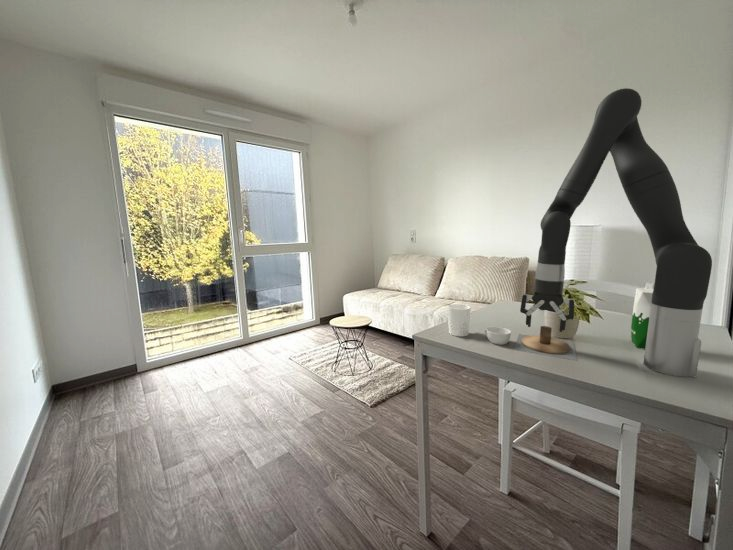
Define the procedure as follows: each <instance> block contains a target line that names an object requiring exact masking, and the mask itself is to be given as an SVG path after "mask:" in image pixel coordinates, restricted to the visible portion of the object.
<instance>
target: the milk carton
mask: <svg viewBox="0 0 733 550" xmlns="http://www.w3.org/2000/svg"><path fill="white" fill-rule="evenodd" d="M653 290H654V288H650V287H649V288H648V287H647V288H643V287H642V288H640V287H636V289H635V295H634V301H633V307H632V315H631V316H632V317H631V324H630V325H631V326H630V333H631V342H632V344H633V345H634V344H635V345H634V346H635V347H636V348H637V349H641V348H645V347H646V340H647V332H648V324H649V317H650V309H651V301H652V293H653Z"/></svg>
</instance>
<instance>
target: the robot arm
mask: <svg viewBox="0 0 733 550" xmlns="http://www.w3.org/2000/svg"><path fill="white" fill-rule="evenodd" d="M641 108H642V97H641V95H640V93H639V92H638V91H637V90H635V89H633V88H627V87H625V88H619V89H617V90H615V91H612V92H611V93H609V94H608V95H606V96H605V97H604V98H603V99H602V101H601V102H600V103H599V104H598V106H597V107H596V111H595V115H594V119H593V123H592V126H591V129H590V132H589V133H588V136H587V137H586V140H585V143H584V144H583V145H582V146H583V147H582V148H581V150H580V152H579V154H578V155H577V157H576V158H575V160H574V162H573V163H572V166H571V167H570V169H569V170H568V172H567V174H566V176H565V177H564V179H563V181H562V183H561V185H560V187H559V189H558V191H557V192H556V195H555V197H554V199H553V201H552V202H551V204H550V205H549V207H548V208H547V210H546V212H545V213H544V215H543V217H542V219H541V220H540V229H541V243H540V246H539V249H538V258H537V264H536V270H535V275H534V277H535V278H534V290H533V295H531V294H527V293H523V295H522V298H521V303H520V314H521V313H522V314H524V315H526V316H525V325H526V326H527V327H528V328H531V327H532V326H531V324H532V314H534V312H536V310H538V309H539V310H540V311H547V312H554V311H555V313H556V314H557V315H558V316H559V318H560V319H559V328H558V330H559V333H560V332H563V331H565V330H566V325H567V323H566V321H568V320H574V317H575V315H574V314H575V299H574V298H572V297H571V298H564V297H563V293H564V283H565V273H566V268H565V267H566V265H565V264H566V255H567V254H566V253H567V252H566V251H567V245H568V241H569V238H570V237H569V236H570V231H571V219H572V216H573V215H574V213H575V211H576V210H577V208H578V207H579V206H580V205H581V204H582V203H583V202H584V200H585V198H586V197H587V195H588V193H589V191H590V190H591V188H592V186H593V184H594V182H595V180H596V179H597V177H598V174H599V172H600V170H601V169H602V166H603V165H604V162H605V160H606V159H607V156H608V154H609V153H610V154H611V157H612V160H613V164H614V166H615V169H616V172H617V175H618V178H619V181H620V183H621V186H622V188H623V191H624V194H625V196H626V198H627V200H628V203H629V204H630V205H631V208H632V210H633V212H634V213H635V215H636V216H637V218H638V220H639V221H640V223H641V224H642V226H643V228H644V229H645V231H646V233H647V235H648V238H649V241H650V244H651V247H652V250H653V255H654V258H655V264H656V270H655V278H654V285H653V289H654V290H653V293H652V301H651V309H650V317H649V324H648V332H647V340H646V347H645V349H644V355H643V365H644V366H645V367H646V368H648V369H649V370H653V371H654V372H657V373H661V374H664V375H669V376H675V377H692V376H696V377H697V372H698V366H699V360H700V354H701V347H702V339H700V338H699V335H700V334H699V333H700V328H701V327H700V326H701V321H702V316H703V315H702V313H703V307H704V303H705V300H706V299H707V295H708V290H709V285H710V280H711V275H712V267H713V259H712V256H711V254H710V252H709V251H708V250H707V249H705V248H704V247H702V246H700V245H699V244H698V243H697V241H696V240H695V238H694V237H693V235H692V233H691V231H690V229H689V228H688V226H687V223H686V222H685V219H684V216H683V215H684V214H683V210H682V204H681V200H680V196H679V191H678V188H677V185H676V183H675V181H674V178H673V176H672V174H671V172H670V170H669V168H668V165H666V163H665V161H664V160H663V158H661V156H659V154H658V153H657V152H656V151H655V150H654V149H652V148H651V146H650V145H649V144H648V143H647V142H646V139H645V138H644V136H643V132H642V130H641V126H640V124H639V120H638V115H639V113H640V111H641ZM530 300H532V302H533V305H532V306H531V307H530V308H529V309H527V308H526V306H527V302H530ZM563 303H564V304H565V306H566V307H568V314H565V313H564V311H563V310H562V308H561V307H560V306H561V305H563Z"/></svg>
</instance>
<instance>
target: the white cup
mask: <svg viewBox="0 0 733 550" xmlns="http://www.w3.org/2000/svg"><path fill="white" fill-rule="evenodd" d="M471 308H472V307H471V306H469V305H466V304H463V303H462V304H460V303H455V304H454V303H452V304H449V305H447V323H448V334H449V333H450V334H449V335H451V336H454V337H466V336H468V335H469V330H470V329H469V328H470V322H471V320H470V319H471V311H472V310H471Z"/></svg>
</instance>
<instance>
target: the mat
mask: <svg viewBox="0 0 733 550" xmlns="http://www.w3.org/2000/svg"><path fill="white" fill-rule="evenodd" d="M526 336H530V335H529V334H528V335H527V334H522V333H518V336H517V338H516V342H515V345H514V348H513V350H514V351H520V352H525V353H526V352H527V353H530V354H537V355H543V356H548V357H554V358H560V359H564V360H565V359H566V360H571V361H576V362H577V361H578V357H577V352H576V348H575V347H576V346H575V343H574V341H570V340H569V341H567V340H562V339H560V340H561V341H563V342H565V343H567V344H568V345H569V346H570V349H569V352H567V353H564V354H548V353H542V352H538V351H534V350H531V349H529V348H527V347H525V346H524V345H523V344H522V338H523V337H526Z"/></svg>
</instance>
